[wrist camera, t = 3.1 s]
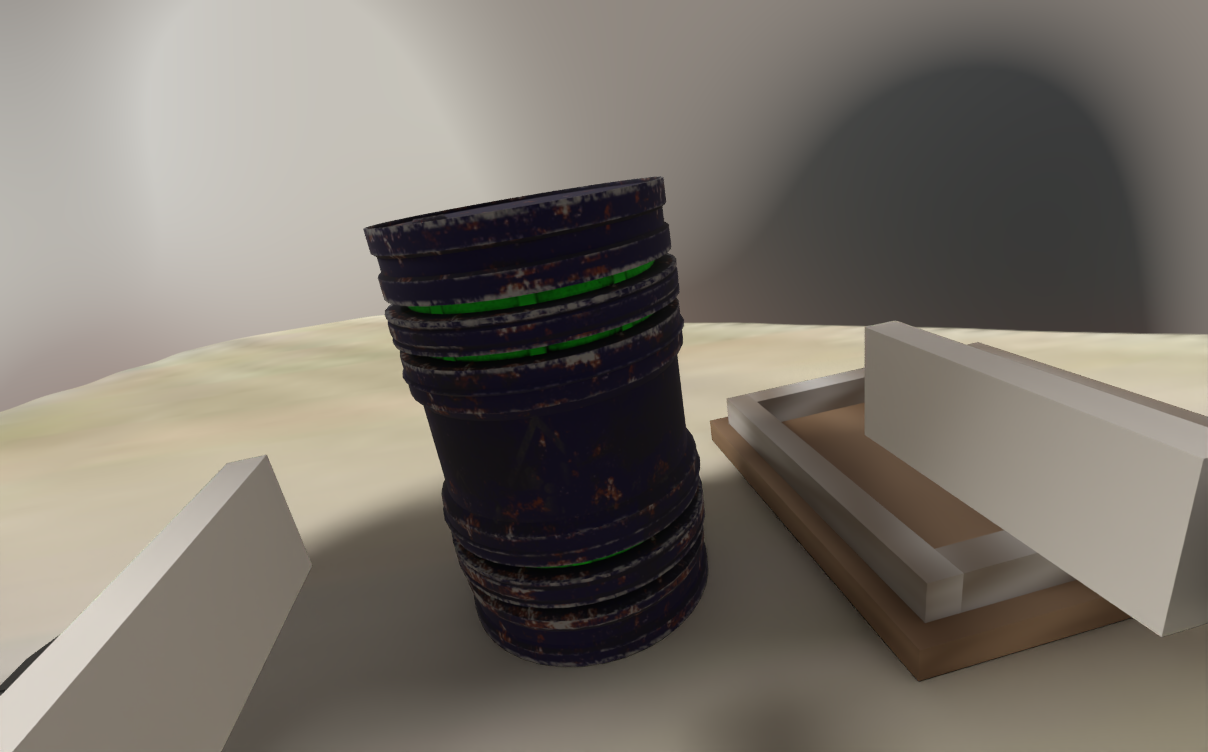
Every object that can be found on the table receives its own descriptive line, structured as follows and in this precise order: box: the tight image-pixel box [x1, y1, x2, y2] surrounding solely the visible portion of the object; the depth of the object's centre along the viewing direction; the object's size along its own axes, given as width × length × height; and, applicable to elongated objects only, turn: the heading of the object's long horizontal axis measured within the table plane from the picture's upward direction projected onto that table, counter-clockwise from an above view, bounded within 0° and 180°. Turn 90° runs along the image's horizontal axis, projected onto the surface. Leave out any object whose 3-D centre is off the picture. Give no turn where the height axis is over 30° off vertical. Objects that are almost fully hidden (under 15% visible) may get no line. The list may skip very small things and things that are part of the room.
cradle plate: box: [710, 342, 1208, 681], centre depth 25 cm, size 17×17×3 cm
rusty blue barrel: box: [364, 177, 708, 667], centre depth 21 cm, size 10×10×15 cm
